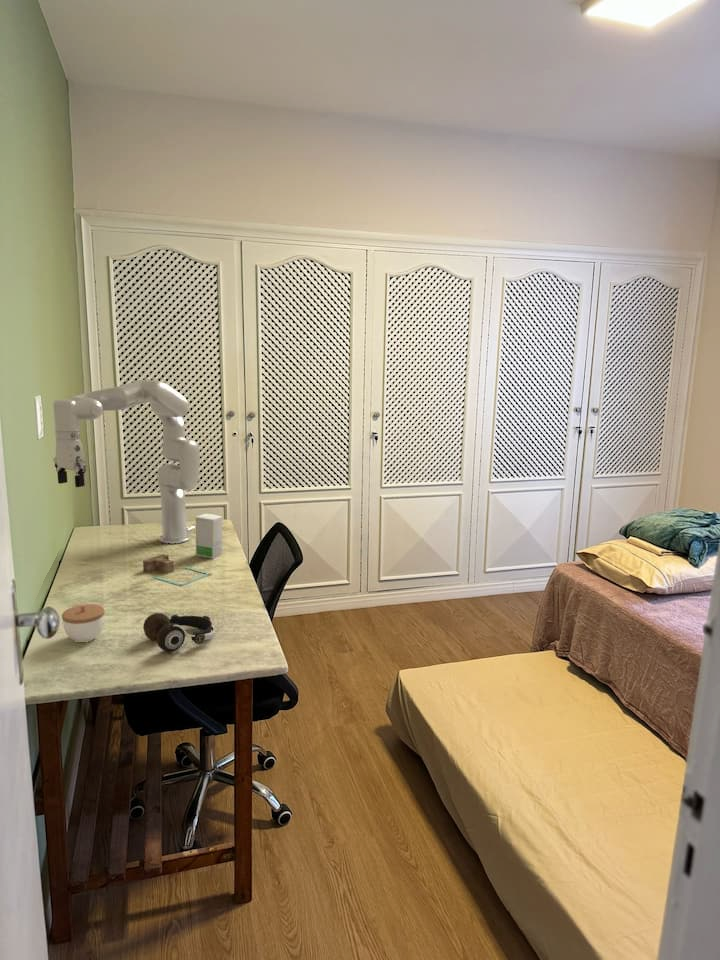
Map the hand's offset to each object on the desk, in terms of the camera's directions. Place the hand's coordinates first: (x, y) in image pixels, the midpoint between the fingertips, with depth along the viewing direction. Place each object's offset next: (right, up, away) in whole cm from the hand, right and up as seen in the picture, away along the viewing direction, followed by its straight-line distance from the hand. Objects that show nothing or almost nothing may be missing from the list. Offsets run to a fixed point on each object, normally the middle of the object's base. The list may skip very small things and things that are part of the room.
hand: (71, 484), depth 225 cm
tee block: (+29, -31, +8) cm, 43 cm away
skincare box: (+42, -28, +25) cm, 56 cm away
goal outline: (+38, -32, +2) cm, 49 cm away
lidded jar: (+24, -42, -46) cm, 67 cm away
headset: (+51, -43, -45) cm, 80 cm away
